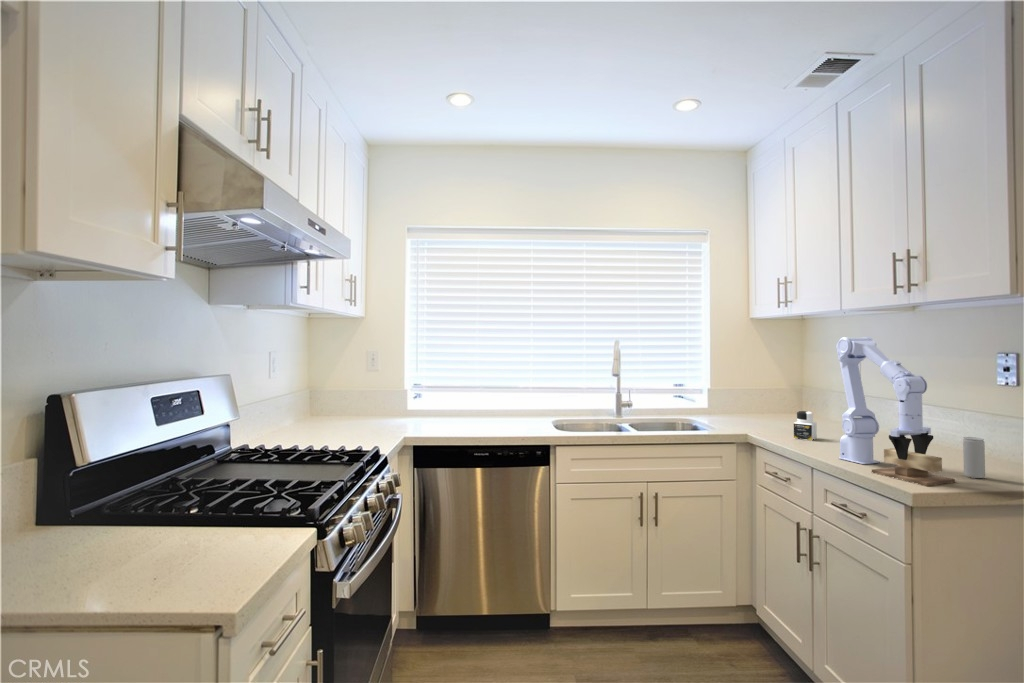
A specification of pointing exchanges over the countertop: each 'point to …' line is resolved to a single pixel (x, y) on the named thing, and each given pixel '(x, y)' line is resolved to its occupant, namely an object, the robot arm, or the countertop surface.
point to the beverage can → (974, 457)
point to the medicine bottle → (805, 426)
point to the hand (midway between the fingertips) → (911, 458)
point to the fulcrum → (913, 475)
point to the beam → (914, 460)
